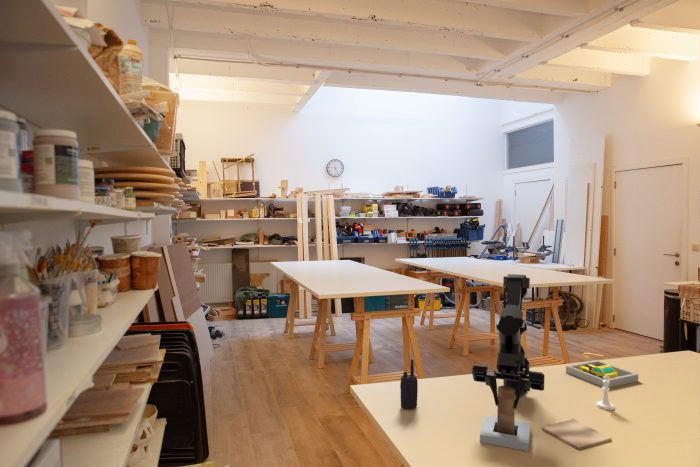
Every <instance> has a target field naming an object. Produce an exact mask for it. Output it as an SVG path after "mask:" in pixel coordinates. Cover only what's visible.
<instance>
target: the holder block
mask: <svg viewBox="0 0 700 467" xmlns="http://www.w3.org/2000/svg"><path fill="white" fill-rule="evenodd" d="M496 430H497V417H496V416H492V415H491V416H490V415H484V419H483V422H482V425H481V430H480V432H479V442H480V443H483V444H488V445H494V446H499V447H502V448H503V447H504V448H510V449H515V450H520V451H526V452H529V451H530V437H531V436H530V435H531V423H530V422H525V421H521V420H515V424H514V433H515V434H516V435H515V434H514V435H509V434H503V433H498V432H497V431H496Z"/></svg>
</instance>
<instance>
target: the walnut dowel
mask: <svg viewBox="0 0 700 467" xmlns="http://www.w3.org/2000/svg"><path fill="white" fill-rule="evenodd" d="M497 396H498V405H497V412H496V414H497V429H496V432H498V433H503V434H509V435H515V432H514V424H515V421H516V418H515V416H516V409H515V408H514V406H515V398H516V395H515V389H514V388H513V387H510V386H503V385H499V386H497Z"/></svg>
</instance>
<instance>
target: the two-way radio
mask: <svg viewBox="0 0 700 467" xmlns="http://www.w3.org/2000/svg"><path fill="white" fill-rule="evenodd" d="M414 366H415V365H414V359H412V358H411V359H410V374H408V372H407V371H403V375H402V376H401V378H400V383H399V386H400V387H399V388H400V408H401V409H402V410H414V409H416V408H417V407H418V393H419V392H418V389H419V388H418V378H417V376H416V375H415V373H414V372H415V370H414Z"/></svg>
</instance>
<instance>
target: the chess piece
mask: <svg viewBox="0 0 700 467" xmlns="http://www.w3.org/2000/svg"><path fill="white" fill-rule="evenodd" d="M603 378H605V380H603V381H602V382H603V385H604V387H601V390H603V396H602V400H598V401H597V402H596V407H597V408H599V409H601V410H605V411H606V410H607V411H613V410H615V405H614V404H613V403H611V402H610V400H609V392H608V391H610V388H608V386H609V383H610V381H608V380H607V379H609V378H610V377H607V375H605V377H603Z"/></svg>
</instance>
